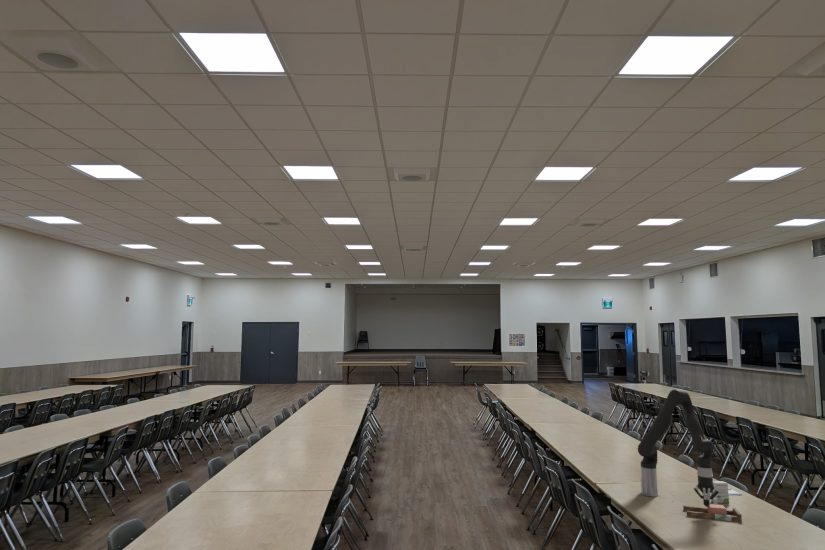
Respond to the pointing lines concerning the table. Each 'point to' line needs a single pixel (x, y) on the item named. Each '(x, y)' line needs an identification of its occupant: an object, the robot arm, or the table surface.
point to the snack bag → (732, 492)
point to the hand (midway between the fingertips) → (706, 506)
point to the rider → (717, 509)
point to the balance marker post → (715, 501)
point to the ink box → (721, 491)
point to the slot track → (704, 513)
